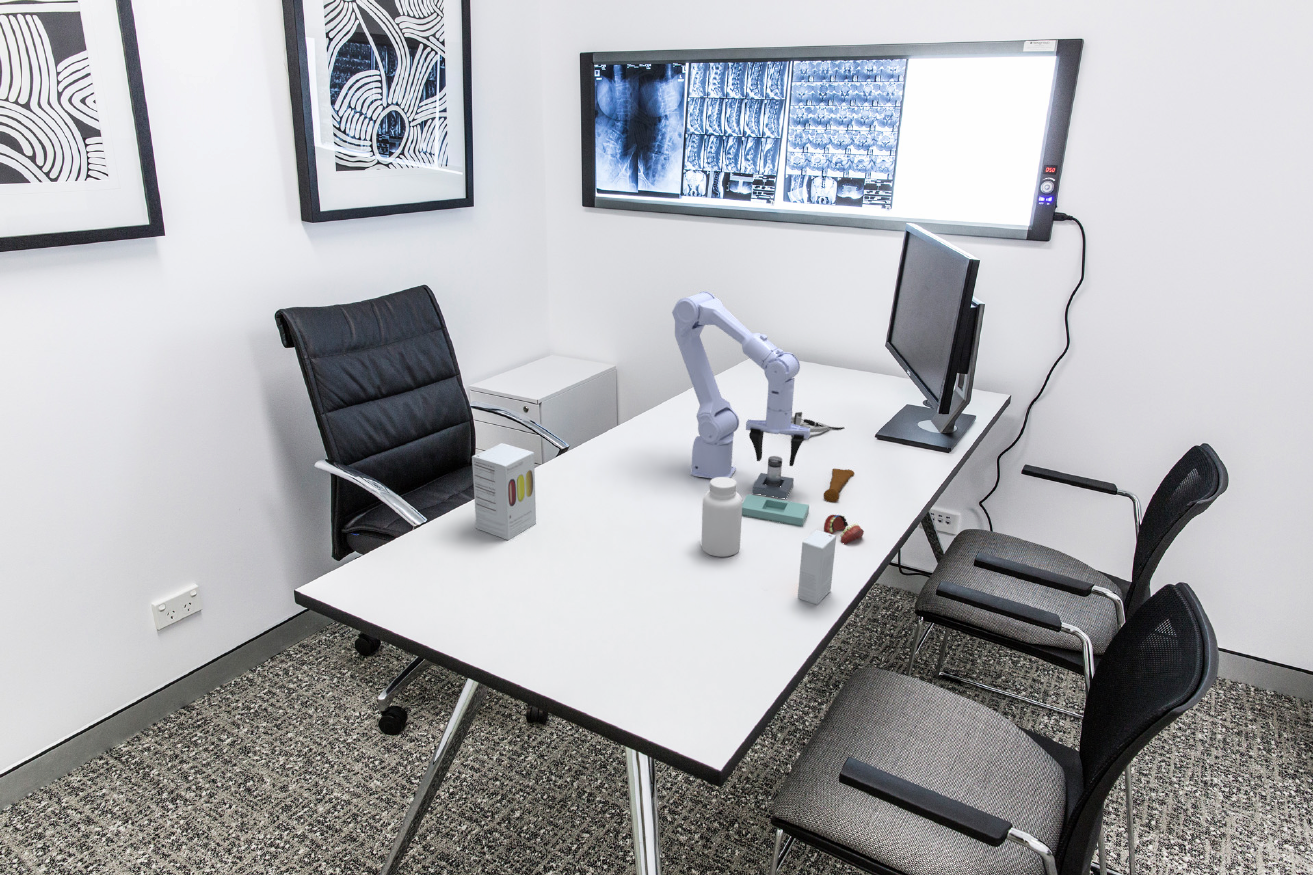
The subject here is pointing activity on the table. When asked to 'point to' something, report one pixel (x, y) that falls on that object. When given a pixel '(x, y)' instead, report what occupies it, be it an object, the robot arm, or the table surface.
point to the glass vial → (774, 471)
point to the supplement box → (504, 490)
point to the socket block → (772, 487)
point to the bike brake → (798, 418)
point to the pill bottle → (721, 518)
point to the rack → (775, 510)
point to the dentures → (838, 524)
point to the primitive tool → (837, 484)
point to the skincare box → (816, 566)
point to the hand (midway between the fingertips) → (775, 462)
